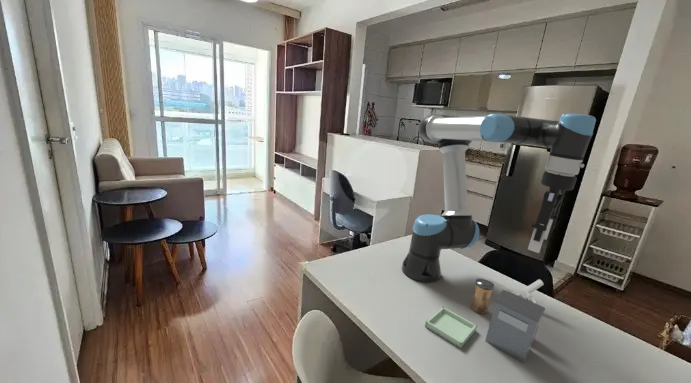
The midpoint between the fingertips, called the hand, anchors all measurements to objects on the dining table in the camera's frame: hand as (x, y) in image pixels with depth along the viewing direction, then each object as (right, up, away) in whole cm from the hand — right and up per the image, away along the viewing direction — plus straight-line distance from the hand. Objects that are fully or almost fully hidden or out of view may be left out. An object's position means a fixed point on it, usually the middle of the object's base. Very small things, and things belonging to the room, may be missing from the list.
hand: (537, 244), depth 85 cm
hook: (+8, -25, +20) cm, 33 cm away
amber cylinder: (-11, -24, +13) cm, 30 cm away
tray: (-24, -26, +3) cm, 36 cm away
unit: (-10, -29, -2) cm, 30 cm away
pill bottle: (-2, -28, +2) cm, 29 cm away
